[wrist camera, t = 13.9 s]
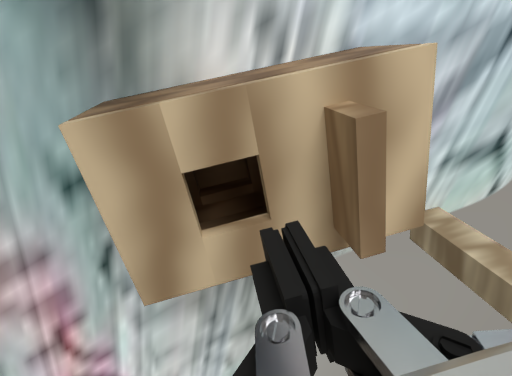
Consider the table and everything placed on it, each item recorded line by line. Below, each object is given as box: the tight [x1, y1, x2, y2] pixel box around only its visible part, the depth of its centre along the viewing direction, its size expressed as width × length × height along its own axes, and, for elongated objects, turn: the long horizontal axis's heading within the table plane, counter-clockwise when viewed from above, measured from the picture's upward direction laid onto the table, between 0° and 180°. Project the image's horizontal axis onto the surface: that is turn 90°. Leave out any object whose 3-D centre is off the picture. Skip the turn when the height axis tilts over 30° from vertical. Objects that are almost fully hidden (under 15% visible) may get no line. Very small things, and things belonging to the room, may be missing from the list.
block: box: [410, 207, 512, 323], centre depth 26 cm, size 4×4×14 cm
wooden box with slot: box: [68, 44, 420, 230], centre depth 22 cm, size 20×12×7 cm, turn 101°
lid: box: [58, 43, 437, 306], centre depth 17 cm, size 20×12×4 cm, turn 101°
